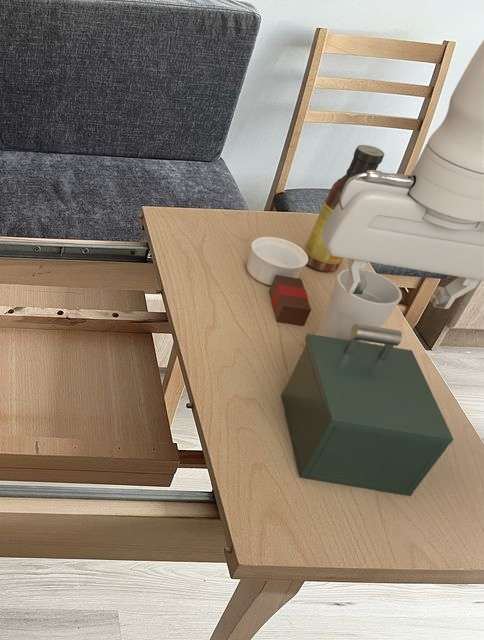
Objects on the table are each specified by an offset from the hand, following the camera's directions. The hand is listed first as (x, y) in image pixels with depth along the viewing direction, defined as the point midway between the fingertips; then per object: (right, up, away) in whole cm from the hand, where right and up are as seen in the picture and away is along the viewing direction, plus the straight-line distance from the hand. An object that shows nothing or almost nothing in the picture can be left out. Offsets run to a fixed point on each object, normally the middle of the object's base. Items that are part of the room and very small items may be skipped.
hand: (395, 298), depth 76 cm
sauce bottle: (+9, +9, +39) cm, 41 cm away
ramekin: (-1, +6, +35) cm, 36 cm away
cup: (+2, -7, +21) cm, 22 cm away
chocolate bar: (-1, +1, +28) cm, 28 cm away
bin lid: (-1, -10, +2) cm, 10 cm away
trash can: (-2, -17, +8) cm, 19 cm away
